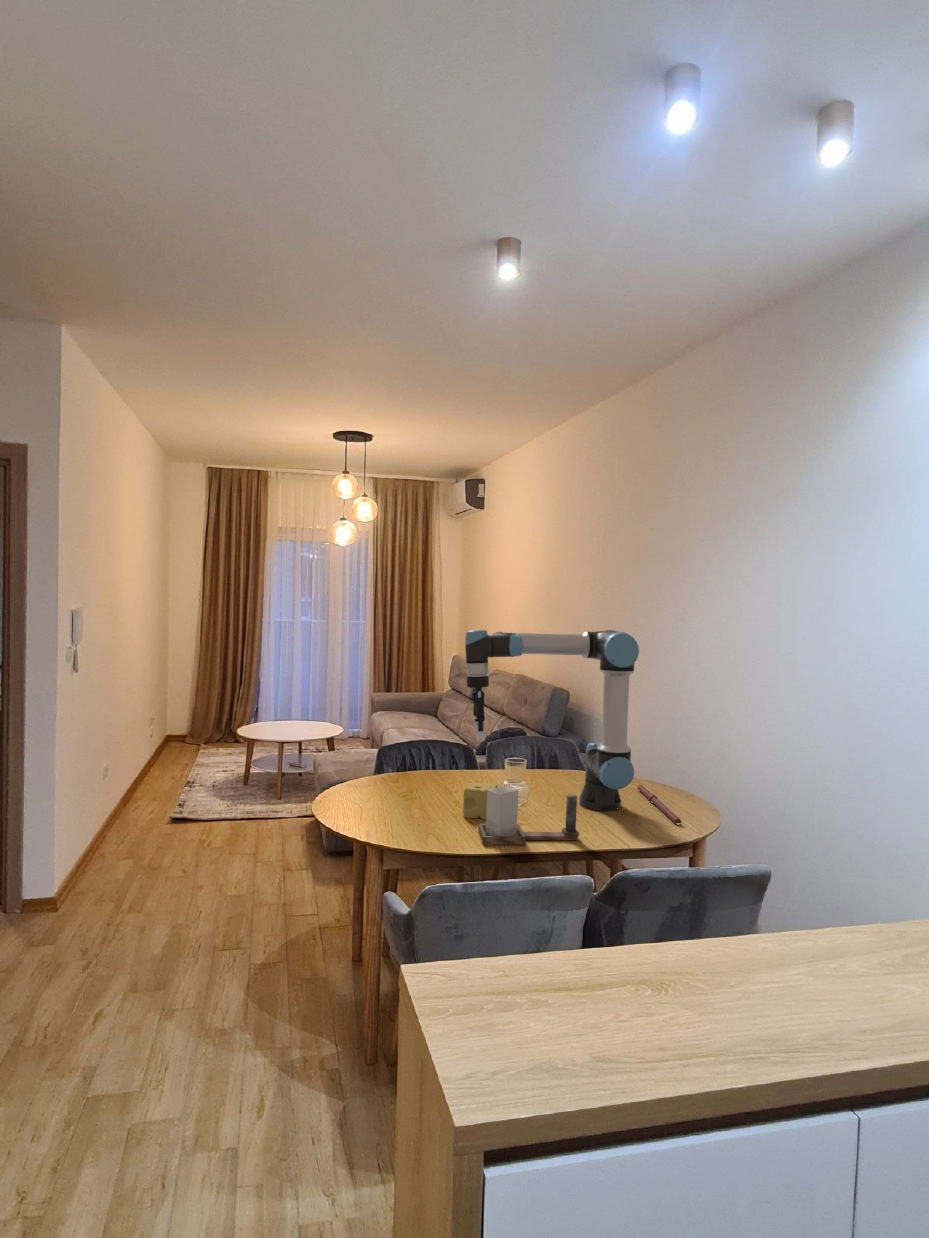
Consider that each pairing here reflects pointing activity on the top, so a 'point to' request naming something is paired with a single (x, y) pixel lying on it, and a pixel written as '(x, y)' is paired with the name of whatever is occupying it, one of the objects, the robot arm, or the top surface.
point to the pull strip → (566, 833)
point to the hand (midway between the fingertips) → (479, 737)
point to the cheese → (476, 800)
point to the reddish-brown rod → (659, 804)
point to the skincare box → (502, 811)
